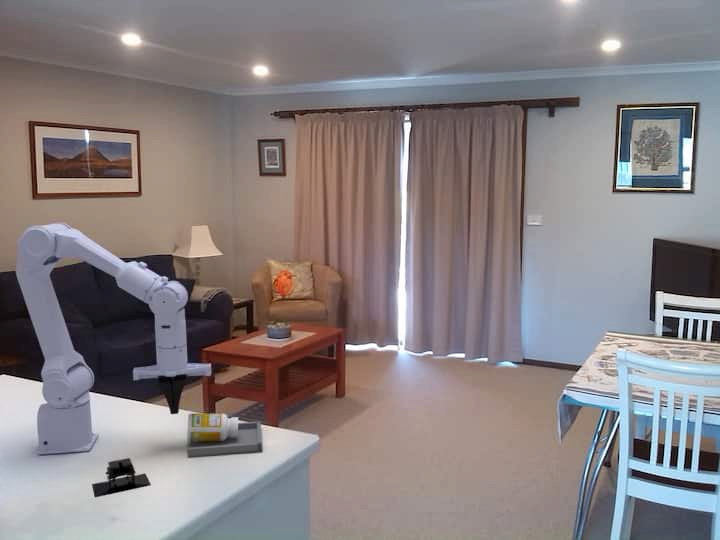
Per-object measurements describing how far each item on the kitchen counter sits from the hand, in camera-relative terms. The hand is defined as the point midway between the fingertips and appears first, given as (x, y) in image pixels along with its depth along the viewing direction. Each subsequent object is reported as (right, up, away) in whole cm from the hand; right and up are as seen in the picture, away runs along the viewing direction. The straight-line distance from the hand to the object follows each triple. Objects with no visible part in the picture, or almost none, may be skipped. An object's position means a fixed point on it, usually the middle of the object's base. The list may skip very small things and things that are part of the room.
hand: (174, 412), depth 129 cm
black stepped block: (-5, -10, -15) cm, 19 cm away
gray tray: (+10, -7, +3) cm, 12 cm away
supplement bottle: (+2, -3, +1) cm, 4 cm away
